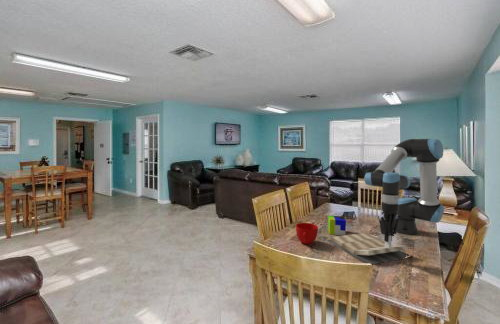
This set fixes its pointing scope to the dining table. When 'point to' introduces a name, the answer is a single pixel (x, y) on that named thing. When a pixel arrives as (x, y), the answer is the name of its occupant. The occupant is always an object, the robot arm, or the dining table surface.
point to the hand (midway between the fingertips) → (387, 247)
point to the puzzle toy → (336, 225)
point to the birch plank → (380, 250)
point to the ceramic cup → (306, 232)
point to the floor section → (365, 242)
